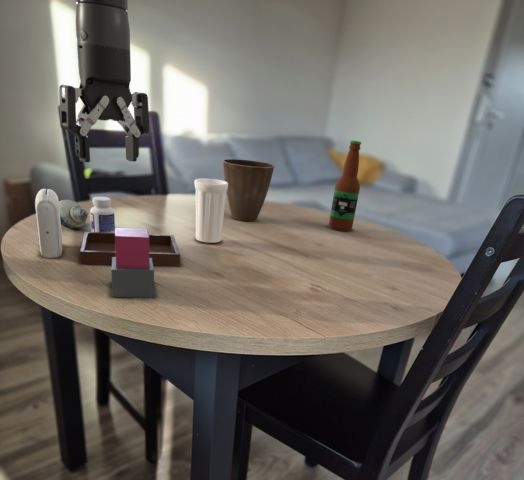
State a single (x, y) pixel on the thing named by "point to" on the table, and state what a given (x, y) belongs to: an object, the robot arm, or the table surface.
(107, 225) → the pill bottle
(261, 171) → the flower pot
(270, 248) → the table surface
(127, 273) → the grey block
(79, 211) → the seashell
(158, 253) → the tray
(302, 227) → the table surface
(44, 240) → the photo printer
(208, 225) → the cup
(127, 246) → the pink block
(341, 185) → the bottle
